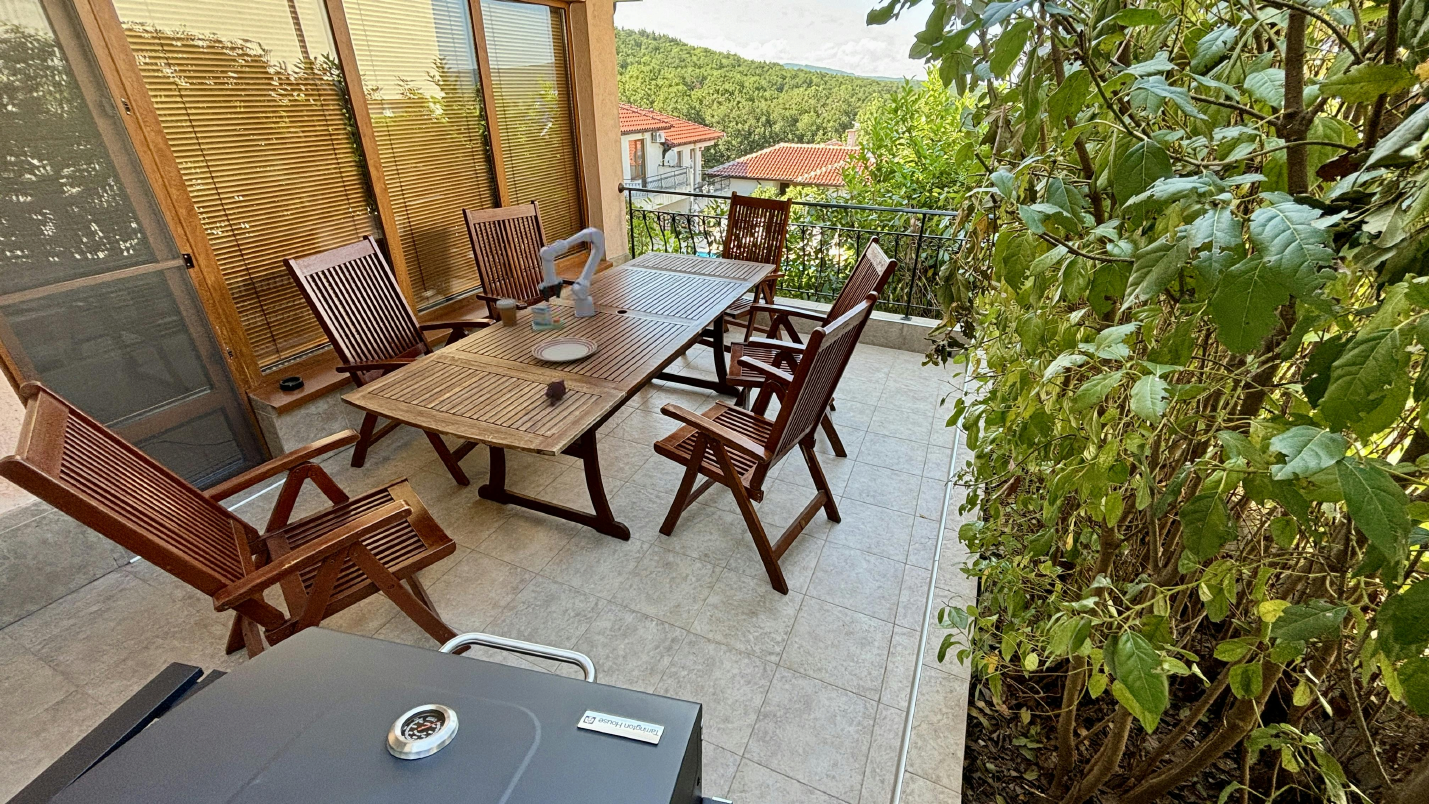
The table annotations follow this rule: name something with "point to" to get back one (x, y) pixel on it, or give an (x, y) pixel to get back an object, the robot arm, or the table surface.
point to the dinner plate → (564, 349)
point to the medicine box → (541, 315)
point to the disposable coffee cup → (507, 312)
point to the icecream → (555, 391)
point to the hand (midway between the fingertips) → (552, 299)
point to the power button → (556, 320)
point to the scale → (544, 327)
